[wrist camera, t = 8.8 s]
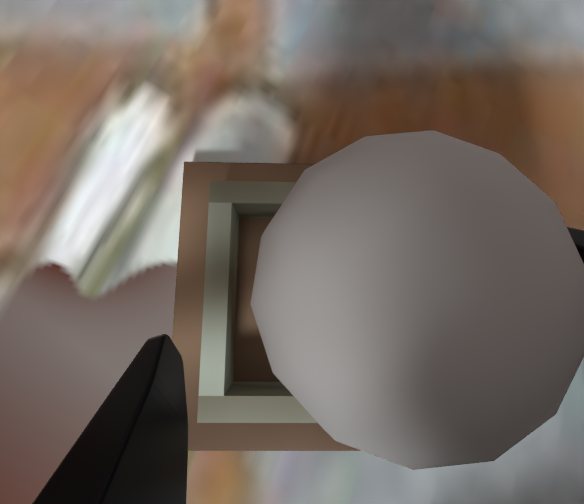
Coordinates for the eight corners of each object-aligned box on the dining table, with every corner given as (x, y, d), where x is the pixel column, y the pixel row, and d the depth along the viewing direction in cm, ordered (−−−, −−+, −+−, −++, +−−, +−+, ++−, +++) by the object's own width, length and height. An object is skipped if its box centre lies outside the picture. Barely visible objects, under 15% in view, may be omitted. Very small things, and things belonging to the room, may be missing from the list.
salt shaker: (369, 239, 17) (642, 25, 4) (385, 354, 16) (804, 553, 3) (255, 250, 17) (159, 59, 4) (265, 367, 16) (182, 640, 3)
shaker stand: (454, 440, 16) (502, 478, 13) (173, 439, 16) (141, 478, 13) (437, 175, 19) (474, 144, 15) (190, 171, 18) (167, 137, 15)
